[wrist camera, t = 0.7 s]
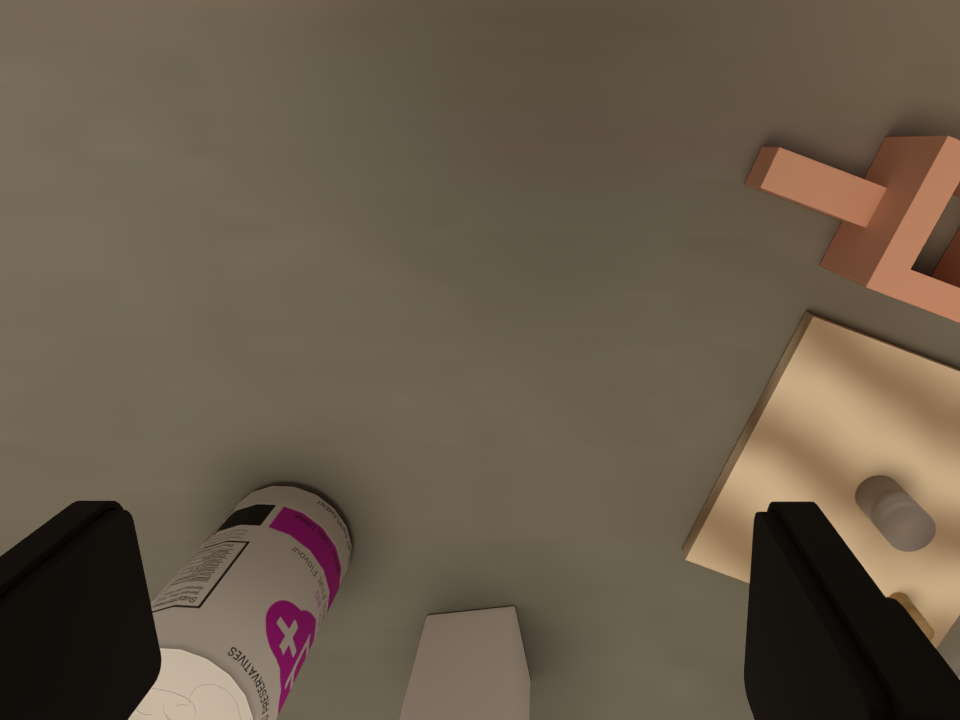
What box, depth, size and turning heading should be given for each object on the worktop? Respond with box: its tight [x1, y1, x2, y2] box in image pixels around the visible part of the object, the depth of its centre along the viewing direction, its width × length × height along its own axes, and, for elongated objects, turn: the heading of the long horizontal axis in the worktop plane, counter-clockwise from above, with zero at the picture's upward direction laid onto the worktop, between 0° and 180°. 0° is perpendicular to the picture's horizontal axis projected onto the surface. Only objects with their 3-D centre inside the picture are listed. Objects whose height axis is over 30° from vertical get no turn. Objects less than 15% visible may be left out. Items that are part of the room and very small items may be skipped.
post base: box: [682, 312, 960, 648], centre depth 39 cm, size 16×16×5 cm
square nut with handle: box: [745, 136, 960, 323], centre depth 35 cm, size 12×7×6 cm, turn 70°
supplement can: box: [128, 486, 352, 720], centre depth 39 cm, size 8×8×15 cm
